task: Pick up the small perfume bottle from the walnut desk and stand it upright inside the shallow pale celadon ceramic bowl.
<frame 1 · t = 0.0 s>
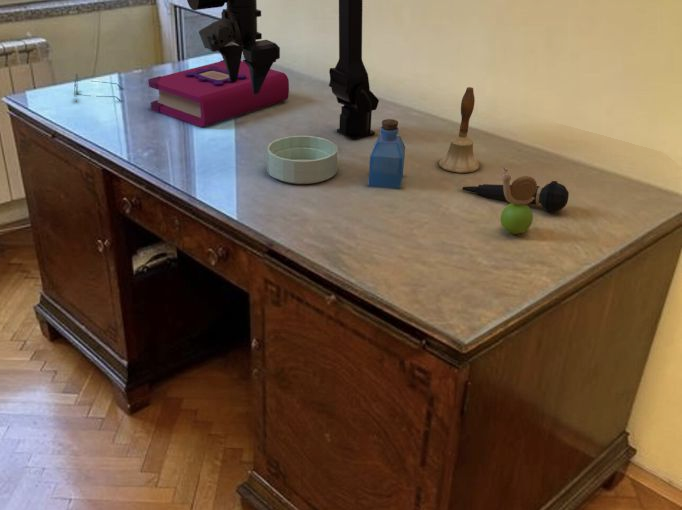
hand: (244, 87, 155), 15 cm above the table, tool pointing down, fingers open, 9 cm apart
perfume bottle: (385, 182, 154), on the table
microphone: (514, 202, 146), on the table
hand bell: (458, 166, 161), on the table
book: (220, 106, 192), on the table
eyeglasses: (98, 96, 198), on the table
bowl: (302, 171, 158), on the table
snail figurine: (511, 233, 136), on the table
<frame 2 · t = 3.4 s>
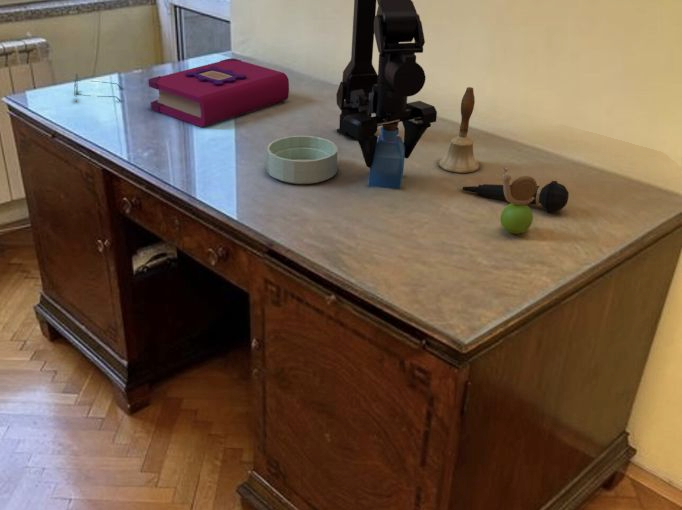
hand: (387, 162, 151), 4 cm above the table, tool pointing down, fingers closed on perfume bottle, 9 cm apart
perfume bottle: (385, 182, 154), on the table, touching gripper
everything else where it was.
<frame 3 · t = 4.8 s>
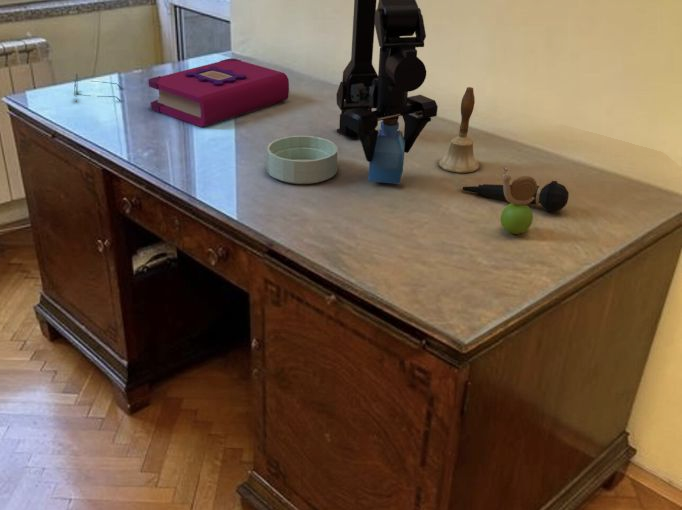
hand: (387, 156, 151), 5 cm above the table, tool pointing down, fingers closed on perfume bottle, 9 cm apart
perfume bottle: (385, 177, 153), point 1 cm above the table, touching gripper
everything else where it was.
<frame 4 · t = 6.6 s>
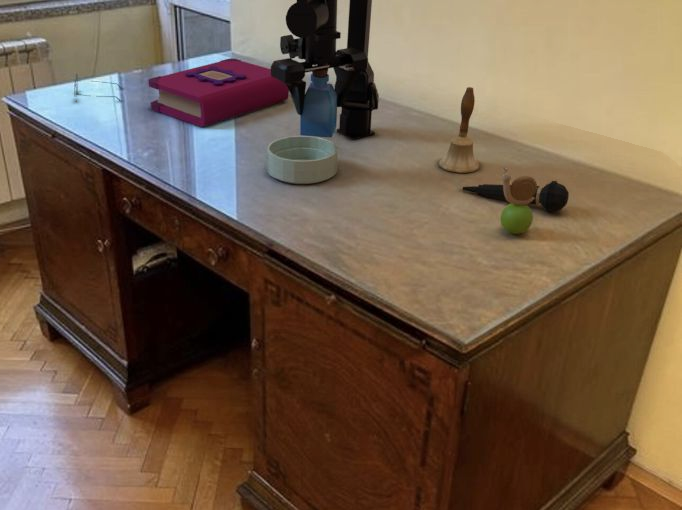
hand: (319, 110, 149), 13 cm above the table, tool pointing down, fingers closed on perfume bottle, 9 cm apart
perfume bottle: (318, 131, 152), point 9 cm above the table, touching gripper
everything else where it was.
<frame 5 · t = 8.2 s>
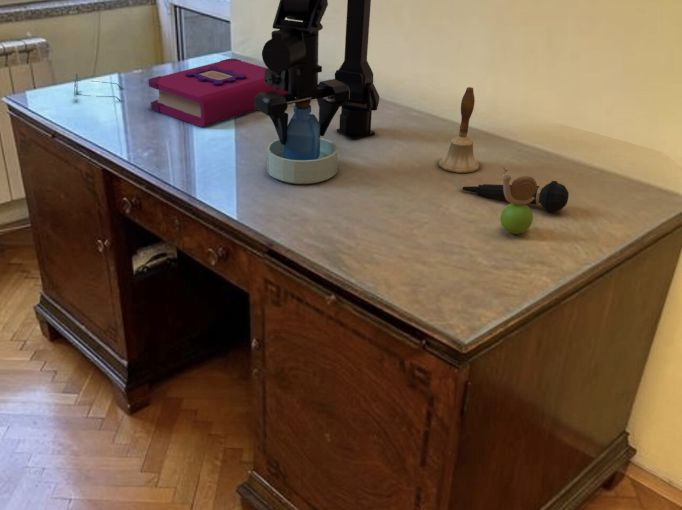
hand: (302, 139, 154), 7 cm above the table, tool pointing down, fingers closed on perfume bottle, 9 cm apart
perfume bottle: (302, 160, 157), point 2 cm above the table, touching gripper
everything else where it was.
when the fingers open (5 cm above the table, at t = 9.6 s): perfume bottle stays where it is, resting on bowl.
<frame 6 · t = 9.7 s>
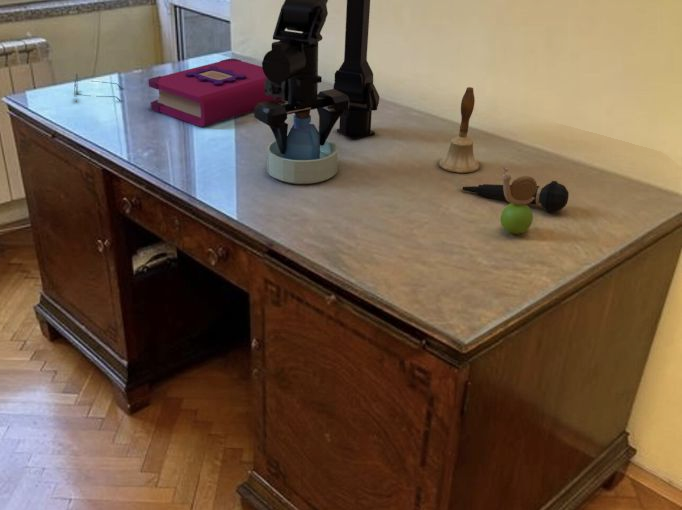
hand: (302, 149, 155), 5 cm above the table, tool pointing down, fingers open, 9 cm apart
perfume bottle: (301, 169, 158), resting on bowl, touching gripper
everything else where it was.
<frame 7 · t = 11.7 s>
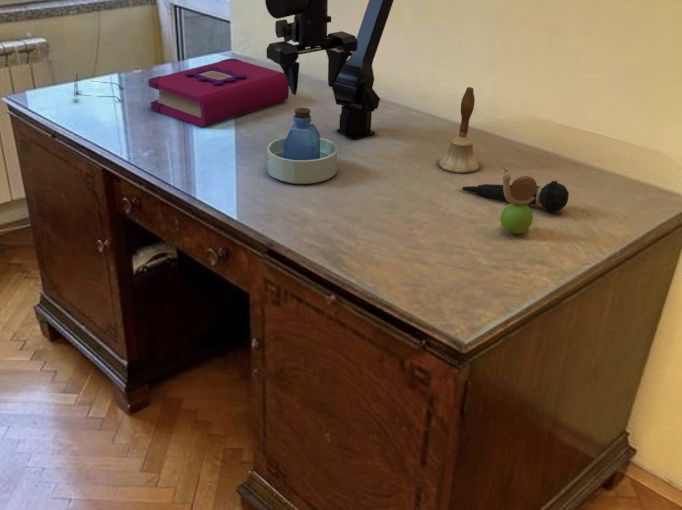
hand: (312, 90, 160), 13 cm above the table, tool pointing down, fingers open, 9 cm apart
perfume bottle: (301, 169, 158), resting on bowl
everything else where it was.
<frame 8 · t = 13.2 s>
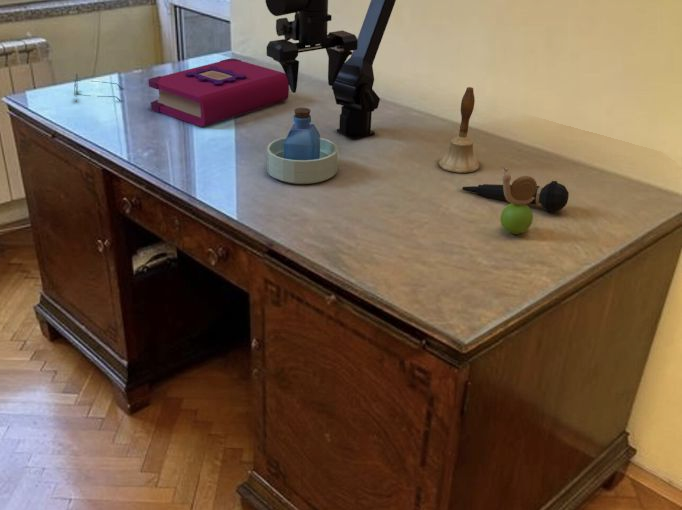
hand: (312, 88, 160), 13 cm above the table, tool pointing down, fingers open, 9 cm apart
nothing on the table moved.
at the end: perfume bottle 0.3 cm off-centre in the bowl, point 0.3 cm above the bowl's base; perfume bottle tilted 0°; the gripper is holding nothing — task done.
